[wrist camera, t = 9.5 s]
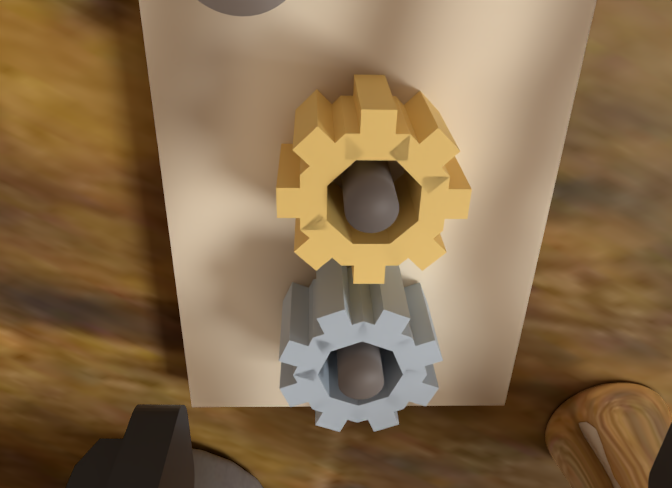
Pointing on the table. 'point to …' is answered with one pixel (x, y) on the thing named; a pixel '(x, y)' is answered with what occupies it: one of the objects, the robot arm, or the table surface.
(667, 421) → the beer glass
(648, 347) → the table surface
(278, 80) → the gear board
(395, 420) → the gear
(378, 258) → the gear
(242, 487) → the canister
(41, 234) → the table surface
